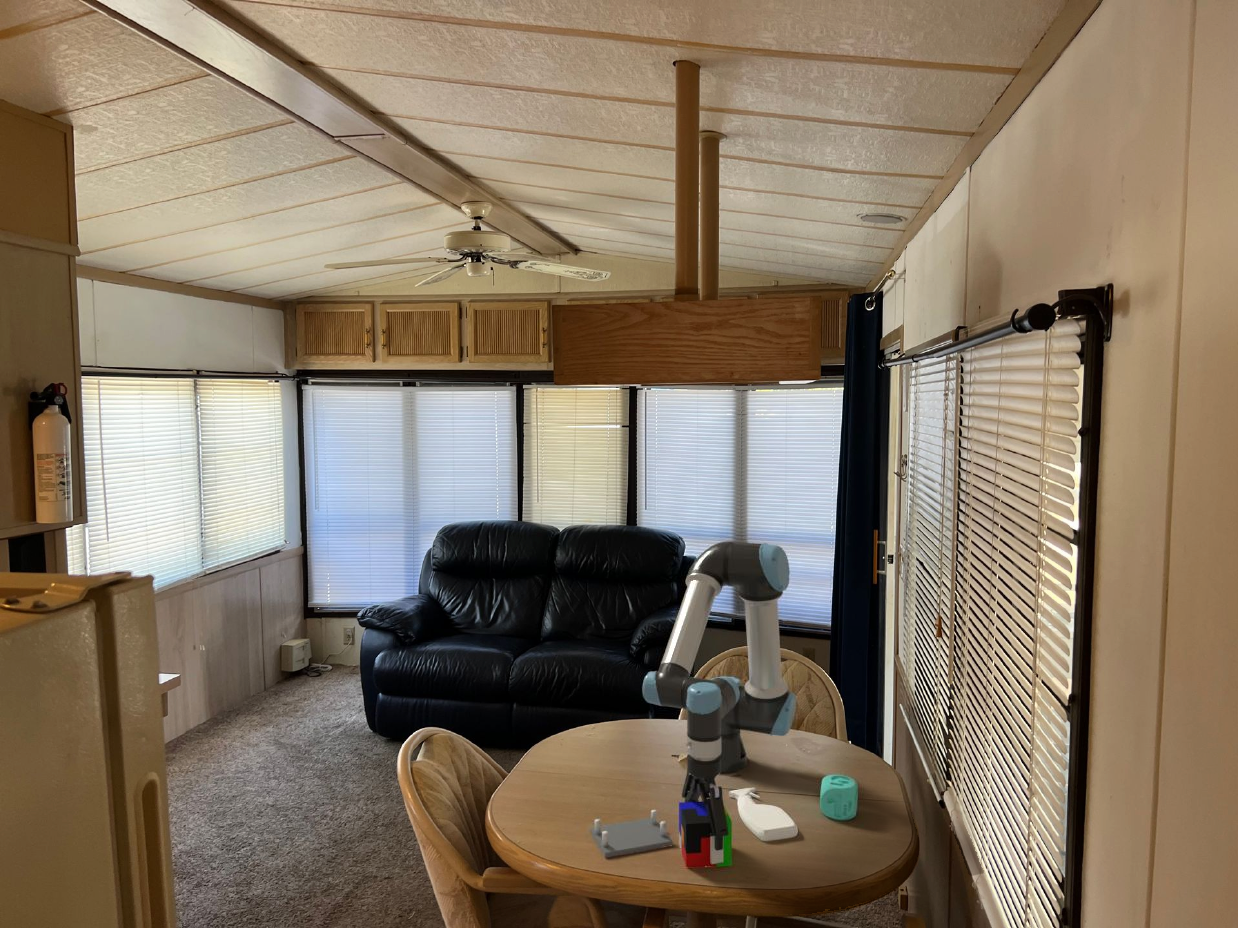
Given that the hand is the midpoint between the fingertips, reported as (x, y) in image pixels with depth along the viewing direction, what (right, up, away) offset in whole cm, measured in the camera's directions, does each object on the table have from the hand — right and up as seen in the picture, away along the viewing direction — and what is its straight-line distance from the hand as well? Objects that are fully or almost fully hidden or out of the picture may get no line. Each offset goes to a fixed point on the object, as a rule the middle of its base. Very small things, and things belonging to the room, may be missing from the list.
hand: (704, 846), depth 193 cm
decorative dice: (+35, 0, +19) cm, 40 cm away
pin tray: (-16, -1, +7) cm, 18 cm away
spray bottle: (+15, -1, +18) cm, 23 cm away
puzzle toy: (0, -2, 0) cm, 2 cm away
